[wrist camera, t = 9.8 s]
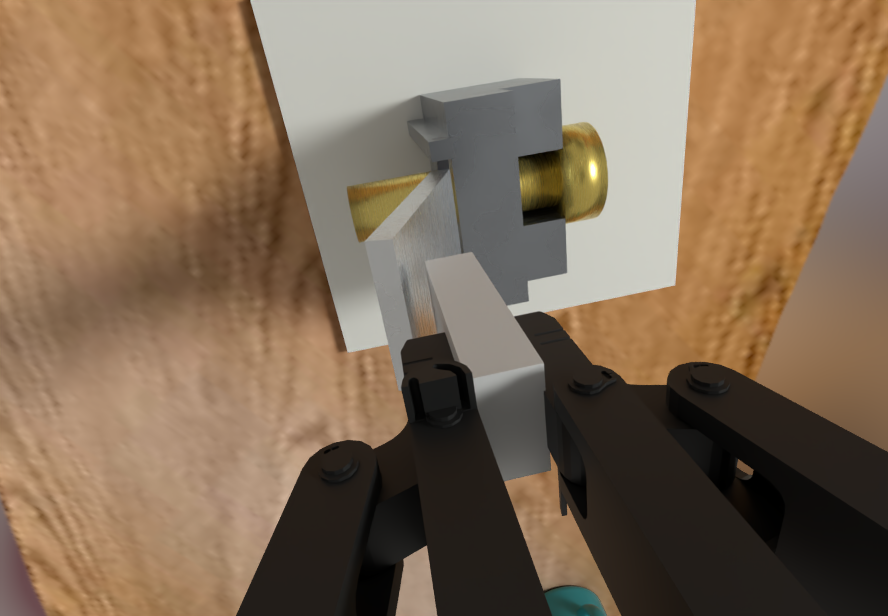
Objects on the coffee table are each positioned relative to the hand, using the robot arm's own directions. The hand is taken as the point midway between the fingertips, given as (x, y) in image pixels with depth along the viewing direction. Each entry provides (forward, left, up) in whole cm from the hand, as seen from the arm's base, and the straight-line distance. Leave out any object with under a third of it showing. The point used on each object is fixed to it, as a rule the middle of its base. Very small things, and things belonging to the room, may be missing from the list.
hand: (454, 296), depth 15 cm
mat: (0, +6, -18) cm, 19 cm away
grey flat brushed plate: (0, +1, -7) cm, 8 cm away
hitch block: (0, +5, -18) cm, 18 cm away
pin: (0, +3, -15) cm, 15 cm away
